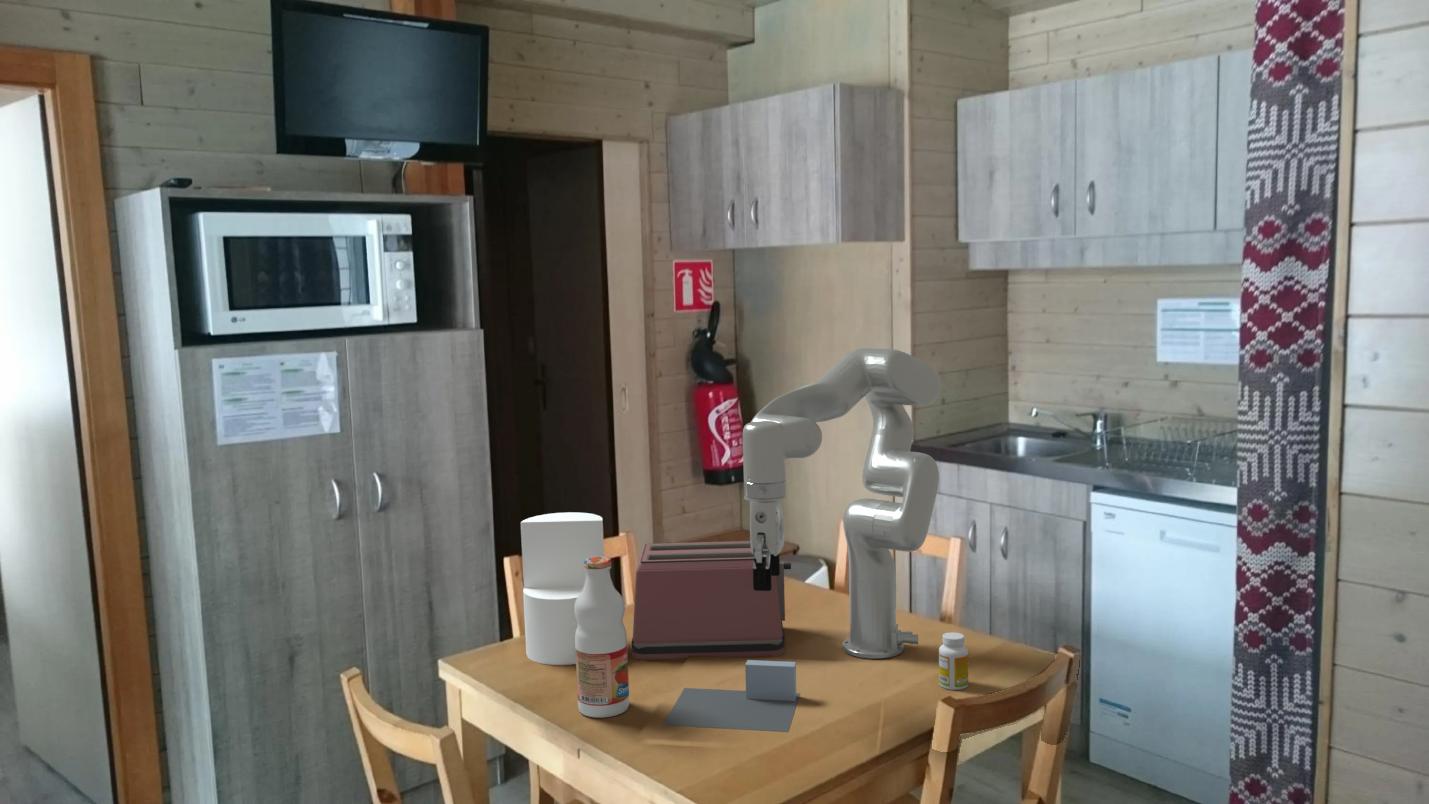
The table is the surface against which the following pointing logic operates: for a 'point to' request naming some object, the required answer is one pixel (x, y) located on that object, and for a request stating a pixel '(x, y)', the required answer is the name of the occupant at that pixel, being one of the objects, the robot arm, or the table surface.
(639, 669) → the table surface
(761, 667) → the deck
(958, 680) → the supplement bottle
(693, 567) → the toaster
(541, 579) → the cylinder
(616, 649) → the fruit juice
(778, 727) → the mat
